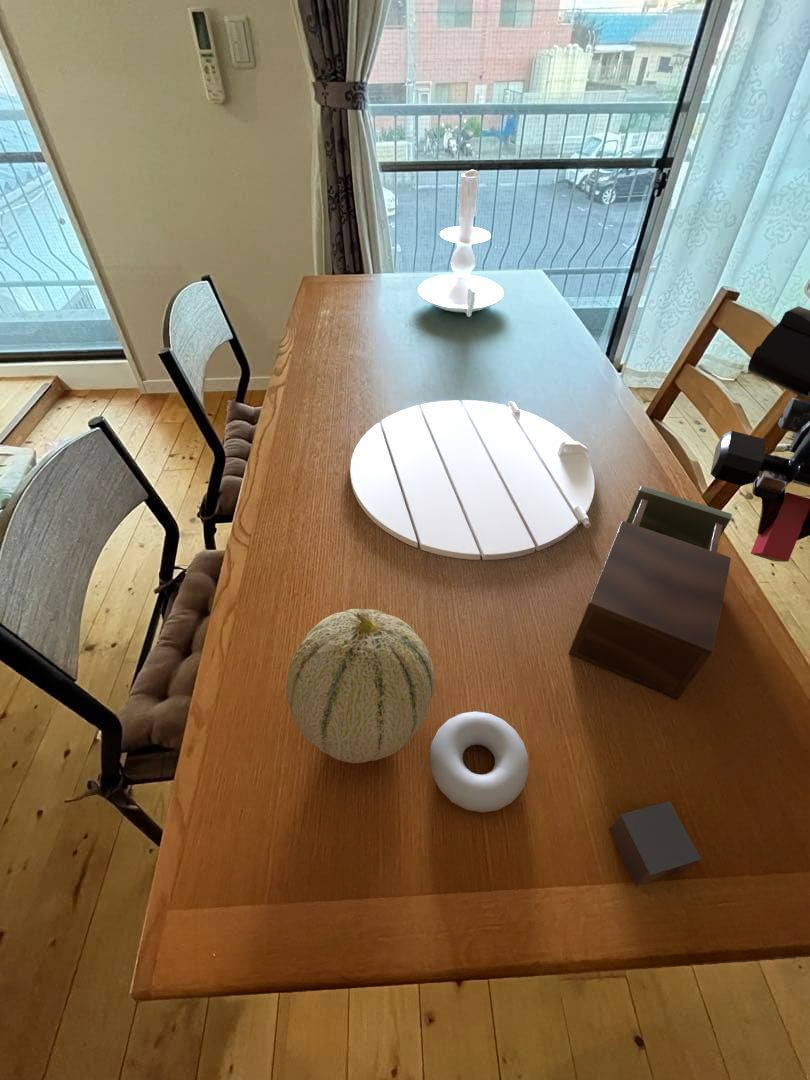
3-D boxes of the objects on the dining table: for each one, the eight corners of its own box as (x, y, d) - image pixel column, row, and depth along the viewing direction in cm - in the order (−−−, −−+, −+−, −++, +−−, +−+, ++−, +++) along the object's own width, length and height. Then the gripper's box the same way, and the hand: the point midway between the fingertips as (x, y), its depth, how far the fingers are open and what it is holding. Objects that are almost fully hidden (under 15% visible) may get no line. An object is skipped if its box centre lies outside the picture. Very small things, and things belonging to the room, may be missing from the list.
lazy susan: (542, 395, 107) (545, 378, 104) (644, 537, 80) (652, 520, 78) (336, 417, 101) (334, 401, 98) (373, 579, 74) (372, 562, 72)
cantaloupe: (304, 800, 55) (281, 733, 44) (290, 672, 65) (269, 591, 54) (448, 765, 57) (460, 694, 46) (413, 647, 67) (416, 565, 56)
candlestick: (425, 332, 125) (430, 190, 105) (413, 288, 142) (415, 158, 122) (515, 329, 126) (537, 188, 106) (492, 285, 143) (507, 157, 123)
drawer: (629, 511, 83) (647, 468, 77) (710, 538, 79) (735, 494, 73) (598, 592, 72) (616, 549, 66) (689, 628, 68) (717, 585, 62)
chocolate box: (788, 562, 59) (813, 499, 58) (761, 553, 60) (786, 491, 59) (774, 561, 63) (798, 503, 63) (750, 553, 64) (773, 496, 63)
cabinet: (600, 573, 76) (622, 520, 68) (697, 609, 71) (731, 557, 64) (568, 653, 67) (589, 602, 59) (676, 700, 62) (713, 651, 55)
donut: (443, 709, 62) (416, 797, 55) (445, 693, 59) (417, 783, 52) (532, 737, 60) (516, 832, 53) (538, 722, 57) (522, 819, 50)
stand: (654, 815, 54) (669, 800, 51) (684, 871, 51) (702, 859, 48) (608, 828, 53) (620, 814, 50) (635, 886, 50) (650, 875, 47)
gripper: (964, 403, 53) (864, 518, 65) (754, 356, 59) (696, 470, 70) (986, 468, 46) (869, 585, 58) (746, 409, 52) (683, 526, 63)
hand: (773, 536), depth 62 cm, fingers closed on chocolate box, 2 cm apart
